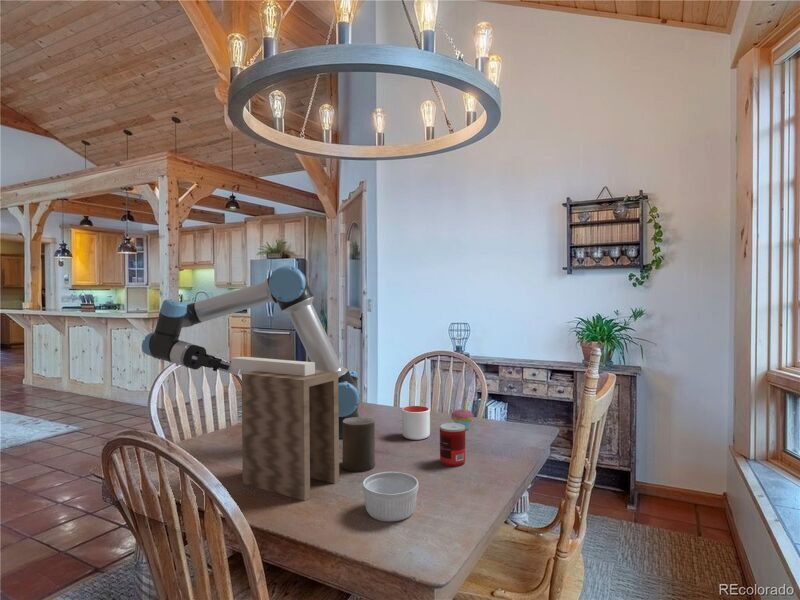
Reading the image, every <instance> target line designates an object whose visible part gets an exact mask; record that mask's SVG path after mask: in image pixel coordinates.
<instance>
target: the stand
mask: <svg viewBox="0 0 800 600" xmlns="http://www.w3.org/2000/svg"><path fill="white" fill-rule="evenodd" d="M241 428H242V429H241V434H242V435H241V436H242V437H241V439H242V442H241V443H242V446H241V448H242V484H243V485H245V486H249V485H250V487H254V488H257V489H261V490H263V491H268V492H271V493H275V494H279V495H282V496H286V497H288V498H289V497H291V498H293V499H296V500H301V501H307V500H309V499H310V498H311V479H313V478H314V480H317V479H318V481H321V480H322V481H323V482H325V481H326V483H330V484H337V483H338V482H340V439H339V405H338V372H333V371H322V370H315V374H311V375H306V376H301V375H291V374H282V373H272V372H262V371H252V372H247V373H242V375H241ZM322 481H321V482H322Z"/></svg>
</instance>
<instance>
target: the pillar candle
mask: <svg viewBox="0 0 800 600" xmlns="http://www.w3.org/2000/svg"><path fill="white" fill-rule="evenodd" d="M375 422H376V421H375V419H374V418H372V417H370V416H369V417H367V416H360V415H359V416H358V417H352V418H347V419H345V420H343V439H342V468H343V469H345V470H346V471H349V472H353V473H354V472H355V473H358V472H368V471H370V470H372V469H374V468H375V466H376V440H375V439H376V437H375V436H376V428H375V427H376V425H375V424H376V423H375Z"/></svg>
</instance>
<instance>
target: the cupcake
mask: <svg viewBox="0 0 800 600" xmlns="http://www.w3.org/2000/svg"><path fill="white" fill-rule="evenodd" d="M467 405H468V397H466V398H465V401H464V407H463V409H462V408H461V409H455V410H453V412H451V414H450V419H451V420H452V421H453V423H459V424H462V425H464V426H465V431H466V430H469V428H470V425H471V422H472V421H473V420H474V416H475V415H474V414H473V413H472V412H471V411H470V410H468V409H467Z"/></svg>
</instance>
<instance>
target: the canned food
mask: <svg viewBox="0 0 800 600" xmlns="http://www.w3.org/2000/svg"><path fill="white" fill-rule="evenodd" d="M439 461H440V463H441V464H442V465H443V466H445V467H461V466H463V465H464V464H465V462H466V430H465V426H464V425H462V424H459V423H455V422H446V423H442V424H441V425H439Z"/></svg>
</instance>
